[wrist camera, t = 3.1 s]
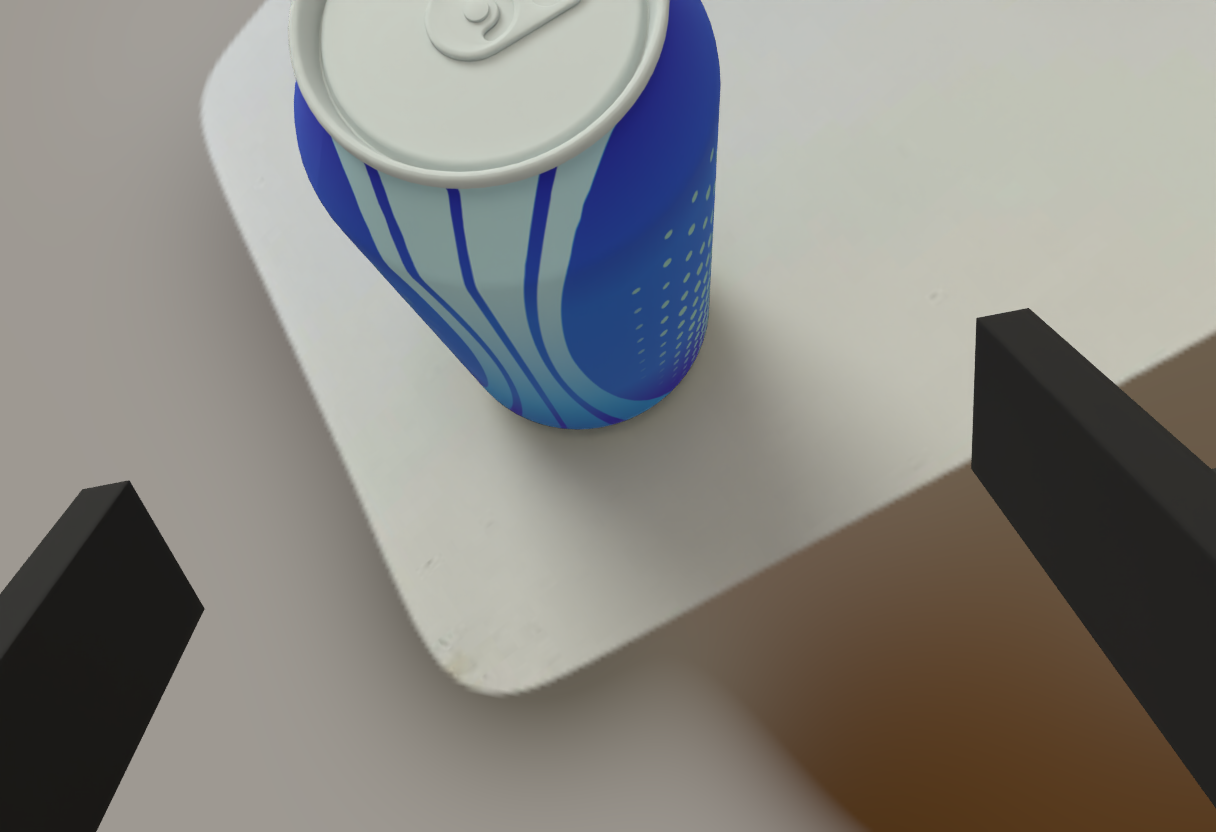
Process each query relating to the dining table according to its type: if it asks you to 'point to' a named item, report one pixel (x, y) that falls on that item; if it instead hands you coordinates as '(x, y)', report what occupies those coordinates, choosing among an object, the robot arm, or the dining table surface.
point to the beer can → (525, 182)
